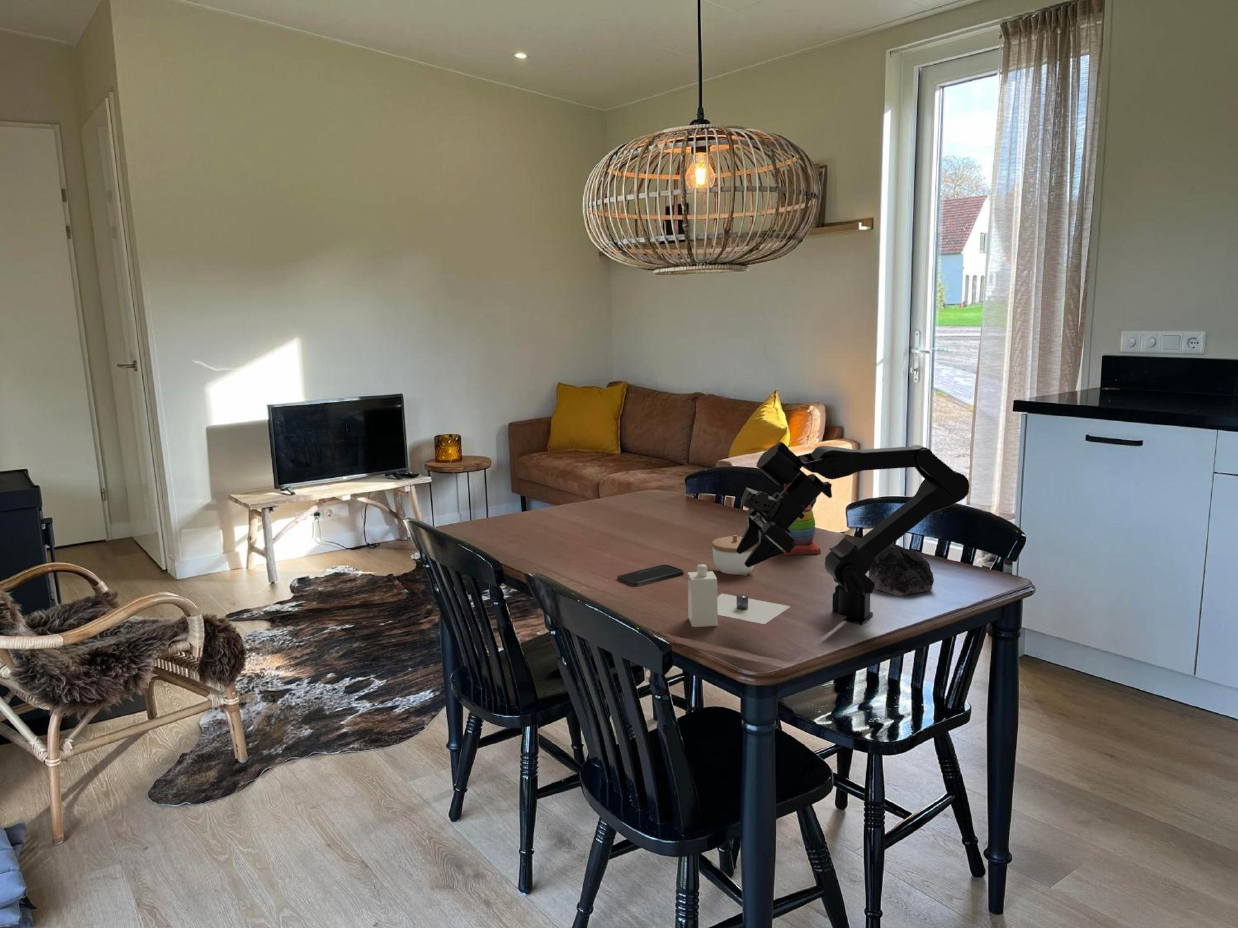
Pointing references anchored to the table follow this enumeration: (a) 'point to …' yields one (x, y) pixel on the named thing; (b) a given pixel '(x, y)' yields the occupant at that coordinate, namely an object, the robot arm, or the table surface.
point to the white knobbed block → (702, 597)
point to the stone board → (749, 609)
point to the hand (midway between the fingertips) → (741, 558)
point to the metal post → (742, 602)
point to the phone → (650, 575)
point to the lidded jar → (730, 556)
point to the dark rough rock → (901, 572)
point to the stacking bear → (803, 534)
